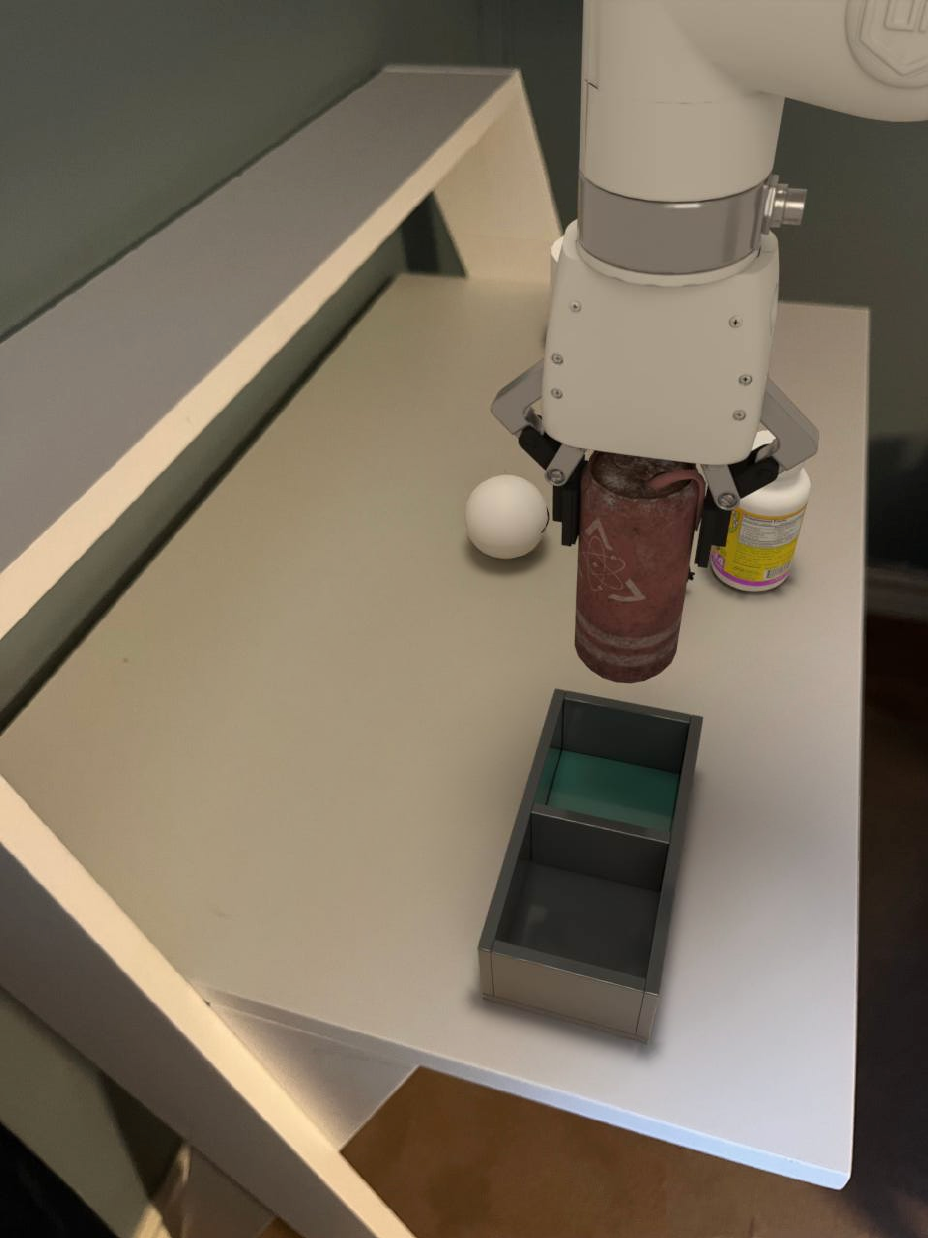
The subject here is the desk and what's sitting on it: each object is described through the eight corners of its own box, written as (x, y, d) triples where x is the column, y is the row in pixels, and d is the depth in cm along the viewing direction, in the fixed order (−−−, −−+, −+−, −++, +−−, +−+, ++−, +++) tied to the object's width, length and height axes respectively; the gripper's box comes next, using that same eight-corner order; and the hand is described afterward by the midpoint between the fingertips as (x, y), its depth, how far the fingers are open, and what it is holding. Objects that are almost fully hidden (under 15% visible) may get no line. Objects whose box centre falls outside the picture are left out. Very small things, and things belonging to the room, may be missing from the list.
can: (679, 692, 56) (710, 506, 46) (570, 682, 57) (576, 498, 47) (680, 617, 60) (709, 431, 50) (578, 609, 61) (586, 425, 51)
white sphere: (542, 581, 83) (543, 515, 78) (458, 572, 85) (453, 507, 79) (558, 507, 90) (559, 442, 85) (480, 499, 91) (476, 436, 86)
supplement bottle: (715, 536, 86) (737, 415, 77) (792, 549, 84) (824, 427, 75) (703, 587, 82) (725, 465, 72) (784, 602, 80) (817, 479, 71)
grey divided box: (691, 774, 69) (703, 716, 64) (647, 1044, 56) (658, 996, 51) (553, 746, 71) (554, 687, 66) (481, 998, 59) (476, 948, 54)
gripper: (895, 186, 40) (808, 519, 53) (490, 161, 44) (502, 476, 57) (895, 271, 35) (799, 616, 48) (440, 234, 39) (465, 560, 52)
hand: (638, 537), depth 52 cm, fingers closed on can, 6 cm apart
